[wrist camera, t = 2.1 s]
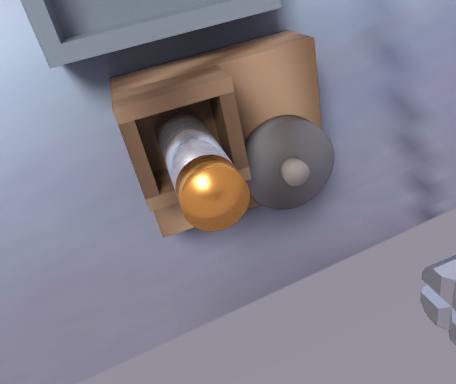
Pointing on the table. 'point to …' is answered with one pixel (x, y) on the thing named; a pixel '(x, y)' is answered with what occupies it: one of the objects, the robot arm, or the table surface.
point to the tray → (124, 23)
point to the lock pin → (200, 171)
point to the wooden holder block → (233, 120)
